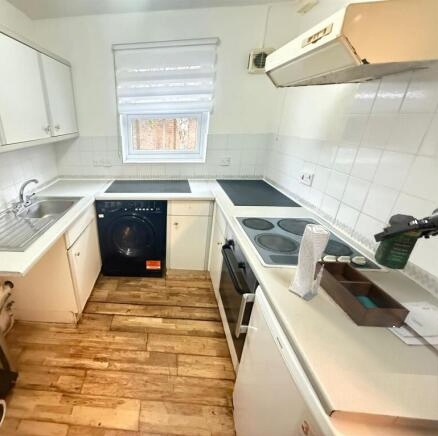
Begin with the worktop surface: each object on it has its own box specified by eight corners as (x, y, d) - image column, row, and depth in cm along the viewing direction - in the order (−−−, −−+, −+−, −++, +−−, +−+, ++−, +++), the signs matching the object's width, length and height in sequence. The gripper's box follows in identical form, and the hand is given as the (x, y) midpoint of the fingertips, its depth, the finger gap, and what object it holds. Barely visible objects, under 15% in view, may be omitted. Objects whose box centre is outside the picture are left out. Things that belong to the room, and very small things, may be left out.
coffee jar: (406, 273, 82) (430, 224, 75) (376, 266, 86) (396, 219, 79) (399, 260, 90) (420, 214, 83) (371, 254, 94) (389, 210, 87)
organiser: (341, 275, 97) (347, 261, 95) (400, 328, 73) (410, 311, 70) (310, 274, 98) (314, 260, 96) (357, 325, 74) (365, 309, 71)
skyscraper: (305, 302, 83) (329, 231, 72) (283, 289, 90) (301, 222, 79) (317, 294, 87) (341, 225, 76) (295, 282, 94) (314, 216, 83)
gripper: (494, 203, 68) (416, 229, 88) (414, 202, 69) (355, 228, 90) (508, 227, 65) (424, 249, 86) (425, 226, 66) (361, 248, 87)
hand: (389, 238), depth 88 cm, fingers closed on coffee jar, 9 cm apart
